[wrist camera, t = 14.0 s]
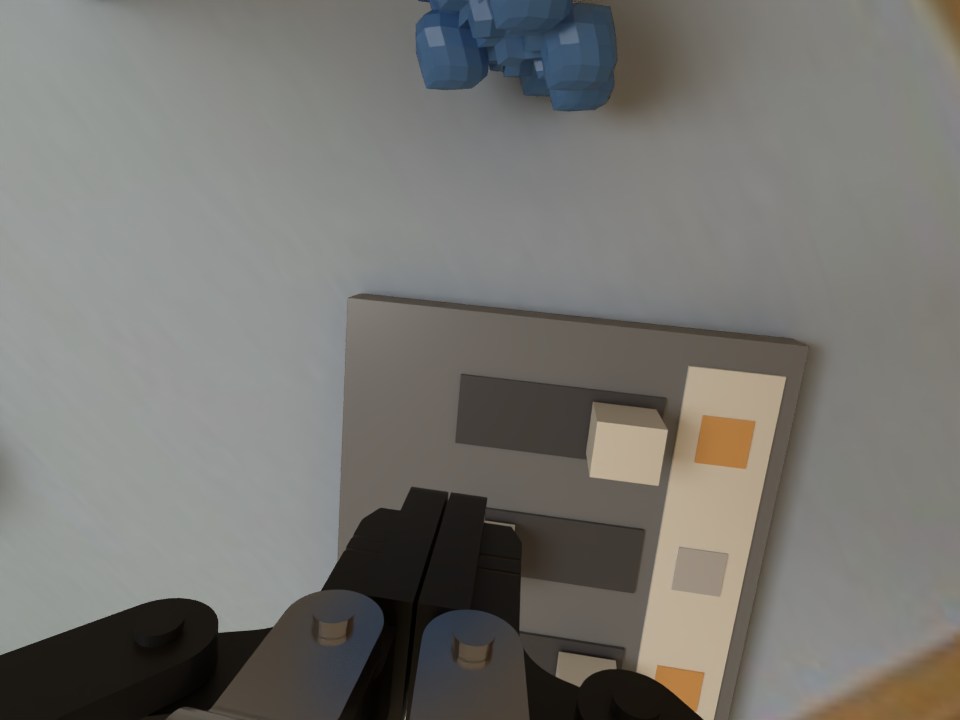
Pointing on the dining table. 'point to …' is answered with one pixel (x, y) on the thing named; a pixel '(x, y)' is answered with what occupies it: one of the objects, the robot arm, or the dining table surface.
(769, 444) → the switch panel
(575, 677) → the switch
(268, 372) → the dining table surface
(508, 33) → the grapes
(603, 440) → the switch
